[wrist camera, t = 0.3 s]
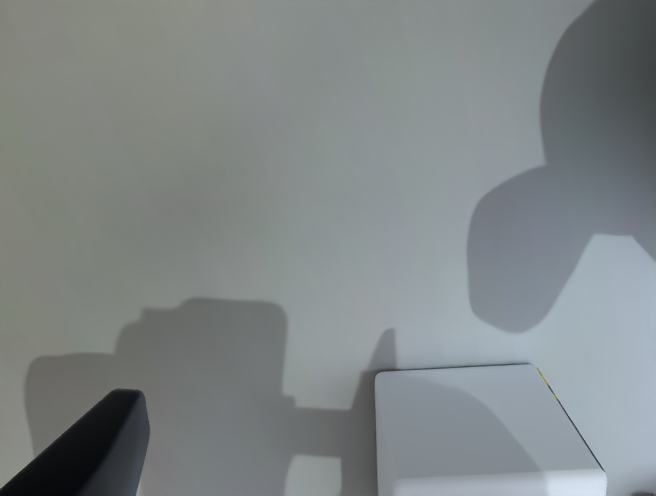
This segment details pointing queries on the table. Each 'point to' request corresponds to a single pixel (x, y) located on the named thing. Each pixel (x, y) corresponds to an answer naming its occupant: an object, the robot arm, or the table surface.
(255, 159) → the table surface
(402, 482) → the medicine bottle
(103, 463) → the robot arm
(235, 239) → the table surface
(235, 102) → the table surface
